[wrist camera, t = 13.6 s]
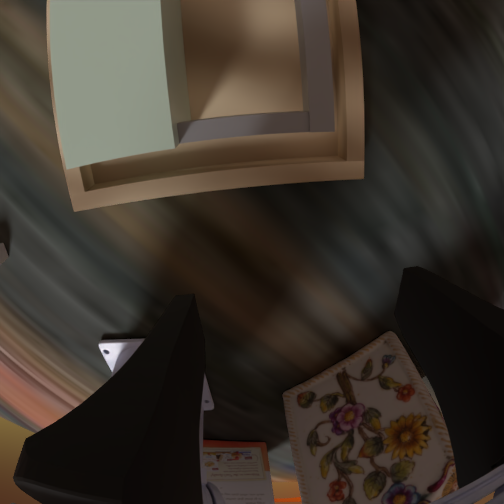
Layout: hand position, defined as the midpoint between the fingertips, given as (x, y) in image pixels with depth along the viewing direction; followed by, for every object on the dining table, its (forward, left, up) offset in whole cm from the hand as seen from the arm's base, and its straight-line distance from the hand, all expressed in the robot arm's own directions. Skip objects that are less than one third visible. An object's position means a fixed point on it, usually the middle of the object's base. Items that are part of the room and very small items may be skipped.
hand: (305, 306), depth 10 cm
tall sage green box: (+9, +3, -9) cm, 13 cm away
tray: (+9, +3, -9) cm, 13 cm away
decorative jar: (-19, -8, -10) cm, 23 cm away
